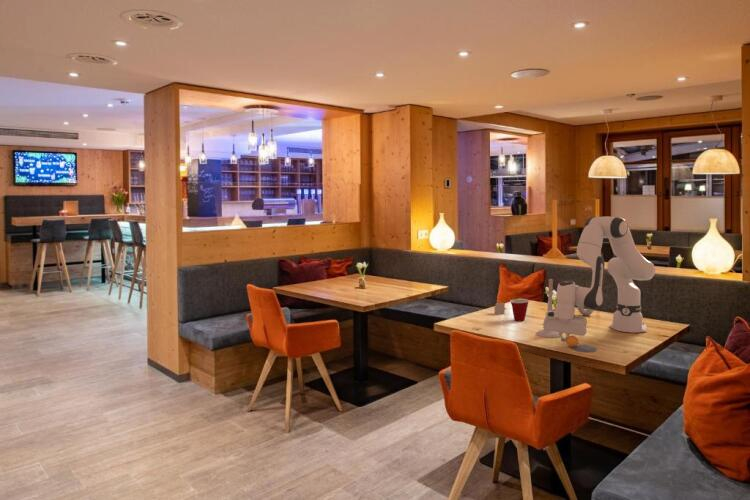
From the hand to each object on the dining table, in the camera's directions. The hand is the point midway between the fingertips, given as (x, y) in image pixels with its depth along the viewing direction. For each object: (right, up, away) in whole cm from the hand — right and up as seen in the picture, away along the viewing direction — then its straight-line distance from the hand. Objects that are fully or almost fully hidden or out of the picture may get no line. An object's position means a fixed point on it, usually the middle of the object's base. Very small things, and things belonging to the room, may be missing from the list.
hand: (563, 341), depth 274 cm
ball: (+3, 0, -3) cm, 4 cm away
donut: (+35, +5, +63) cm, 72 cm away
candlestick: (-1, 0, +20) cm, 20 cm away
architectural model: (-17, +5, +68) cm, 70 cm away
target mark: (+8, -3, -5) cm, 10 cm away
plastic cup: (-9, +4, +51) cm, 52 cm away
